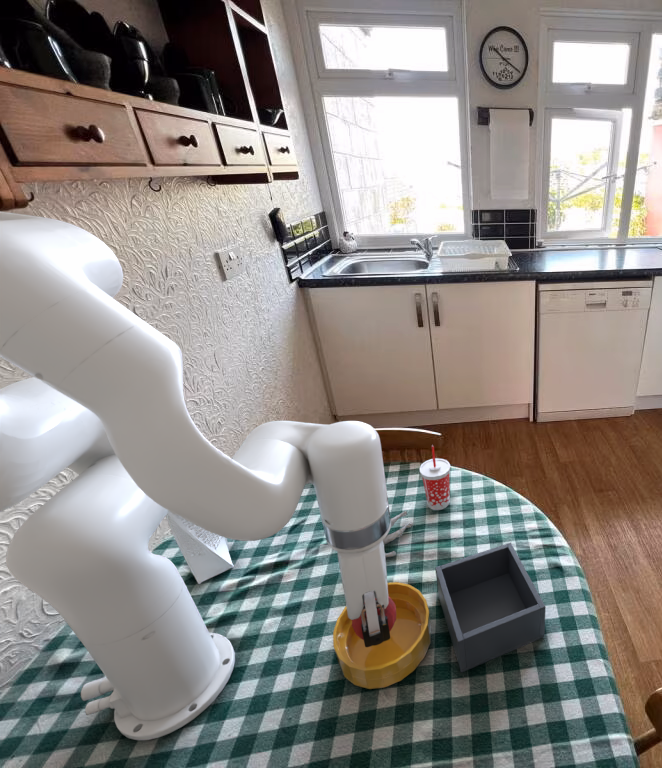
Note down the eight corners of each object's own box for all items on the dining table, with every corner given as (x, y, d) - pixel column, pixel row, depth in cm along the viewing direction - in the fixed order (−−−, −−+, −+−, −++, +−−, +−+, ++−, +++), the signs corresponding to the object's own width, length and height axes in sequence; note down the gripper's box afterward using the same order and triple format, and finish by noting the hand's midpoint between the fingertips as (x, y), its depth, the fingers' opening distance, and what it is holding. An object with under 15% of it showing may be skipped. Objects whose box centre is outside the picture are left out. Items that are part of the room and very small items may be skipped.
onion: (396, 610, 62) (391, 571, 58) (400, 646, 57) (394, 607, 54) (355, 621, 60) (348, 582, 57) (355, 659, 55) (346, 619, 52)
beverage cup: (459, 501, 86) (455, 445, 80) (436, 517, 82) (430, 459, 76) (440, 488, 90) (434, 434, 84) (417, 503, 86) (410, 447, 80)
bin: (461, 673, 56) (457, 641, 53) (438, 596, 66) (435, 567, 63) (544, 637, 60) (545, 606, 57) (511, 570, 71) (510, 542, 68)
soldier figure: (421, 538, 79) (374, 568, 68) (405, 548, 81) (357, 578, 70) (402, 502, 80) (353, 525, 69) (387, 512, 82) (337, 536, 71)
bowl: (341, 708, 52) (334, 687, 50) (337, 620, 63) (332, 600, 61) (440, 666, 56) (438, 645, 55) (421, 591, 67) (418, 571, 65)
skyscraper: (185, 562, 73) (120, 425, 61) (234, 540, 77) (182, 409, 65) (191, 592, 67) (120, 448, 55) (243, 567, 72) (188, 429, 60)
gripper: (323, 484, 55) (343, 579, 63) (324, 587, 41) (350, 694, 49) (381, 472, 58) (393, 564, 66) (401, 565, 44) (414, 669, 51)
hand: (374, 619), depth 57 cm, fingers closed on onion, 5 cm apart
